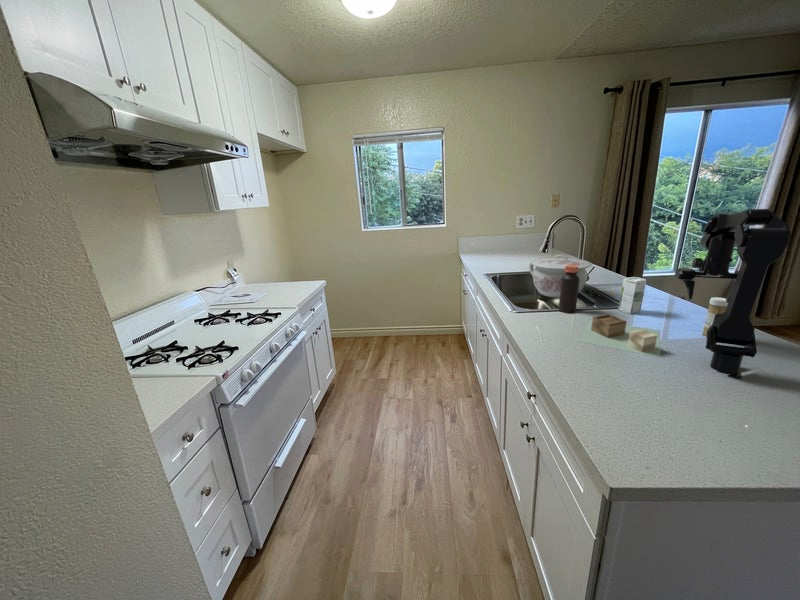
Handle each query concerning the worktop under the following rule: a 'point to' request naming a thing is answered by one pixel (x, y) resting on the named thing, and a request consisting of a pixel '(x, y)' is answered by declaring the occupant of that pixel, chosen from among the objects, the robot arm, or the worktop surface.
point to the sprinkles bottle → (714, 311)
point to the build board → (619, 340)
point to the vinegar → (569, 290)
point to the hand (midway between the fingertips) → (708, 300)
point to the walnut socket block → (608, 326)
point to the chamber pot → (555, 273)
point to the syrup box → (632, 295)
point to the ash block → (642, 340)
